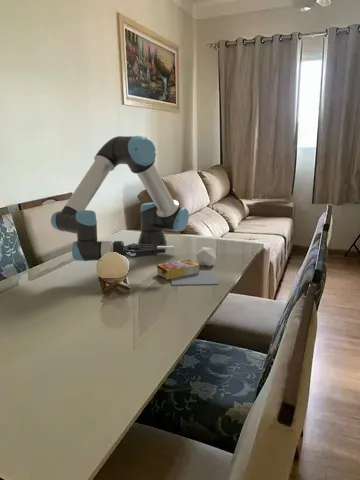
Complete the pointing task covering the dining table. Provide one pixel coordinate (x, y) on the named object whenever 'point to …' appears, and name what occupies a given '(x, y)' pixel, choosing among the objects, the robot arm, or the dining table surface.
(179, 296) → the dining table surface
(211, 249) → the die
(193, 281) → the felt mat
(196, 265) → the candy box
